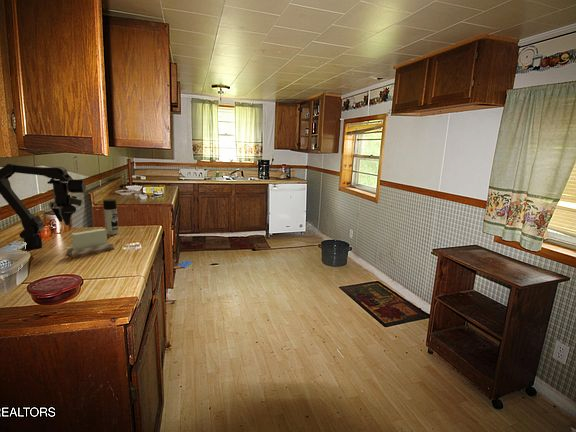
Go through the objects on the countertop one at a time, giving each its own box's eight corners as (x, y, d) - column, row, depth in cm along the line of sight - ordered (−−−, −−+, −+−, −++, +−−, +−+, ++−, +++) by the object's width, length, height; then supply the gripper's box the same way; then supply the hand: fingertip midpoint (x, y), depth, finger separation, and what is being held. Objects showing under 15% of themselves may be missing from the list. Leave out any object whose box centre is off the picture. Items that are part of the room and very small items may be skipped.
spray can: (113, 235, 182) (110, 201, 178) (103, 234, 183) (100, 200, 179) (121, 232, 188) (119, 199, 184) (111, 231, 190) (108, 198, 185)
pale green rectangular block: (76, 253, 148) (74, 235, 146) (73, 251, 150) (71, 233, 148) (107, 247, 159) (106, 229, 157) (104, 245, 161) (103, 228, 159)
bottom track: (73, 258, 145) (73, 251, 144) (66, 253, 150) (65, 247, 150) (114, 249, 159) (113, 243, 158) (106, 245, 164) (106, 239, 164)
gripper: (86, 193, 156) (89, 224, 159) (72, 189, 167) (75, 218, 170) (60, 195, 147) (63, 228, 150) (47, 190, 158) (50, 221, 161)
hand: (64, 223), depth 158 cm, fingers open, 9 cm apart
